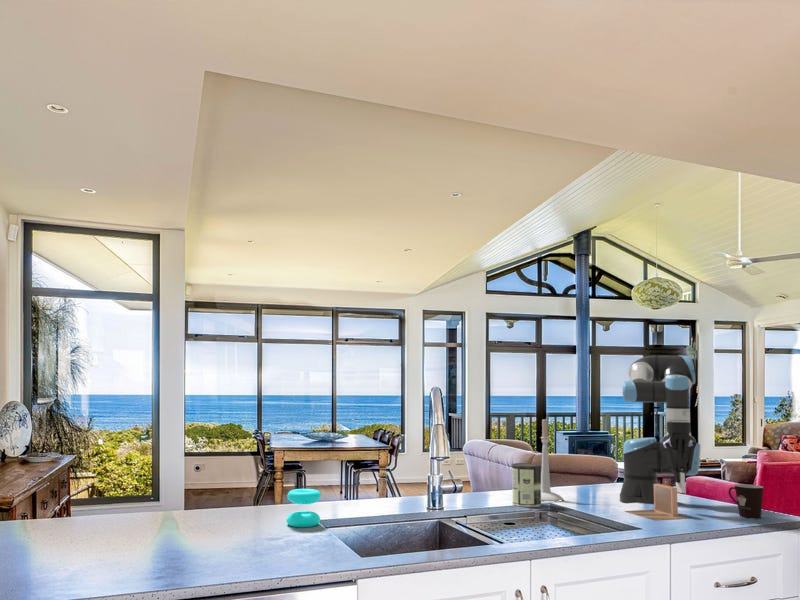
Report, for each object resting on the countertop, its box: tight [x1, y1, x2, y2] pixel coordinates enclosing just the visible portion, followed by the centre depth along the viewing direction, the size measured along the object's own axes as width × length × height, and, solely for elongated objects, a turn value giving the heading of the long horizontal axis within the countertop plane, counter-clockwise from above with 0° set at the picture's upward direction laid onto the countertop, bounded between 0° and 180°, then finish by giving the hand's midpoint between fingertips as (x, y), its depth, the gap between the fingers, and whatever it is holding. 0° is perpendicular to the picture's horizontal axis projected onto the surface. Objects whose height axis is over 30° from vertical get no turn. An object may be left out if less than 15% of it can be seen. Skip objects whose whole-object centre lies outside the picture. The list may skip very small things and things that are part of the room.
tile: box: [653, 483, 679, 516], centre depth 229 cm, size 9×2×9 cm, turn 19°
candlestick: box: [539, 418, 564, 501], centre depth 260 cm, size 13×13×30 cm
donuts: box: [286, 488, 322, 528], centre depth 207 cm, size 10×10×10 cm
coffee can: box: [511, 462, 542, 508], centre depth 246 cm, size 10×10×14 cm
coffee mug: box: [728, 483, 764, 520], centre depth 231 cm, size 12×9×10 cm
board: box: [623, 509, 692, 522], centre depth 226 cm, size 16×14×1 cm
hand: (680, 492), depth 231 cm, fingers closed
